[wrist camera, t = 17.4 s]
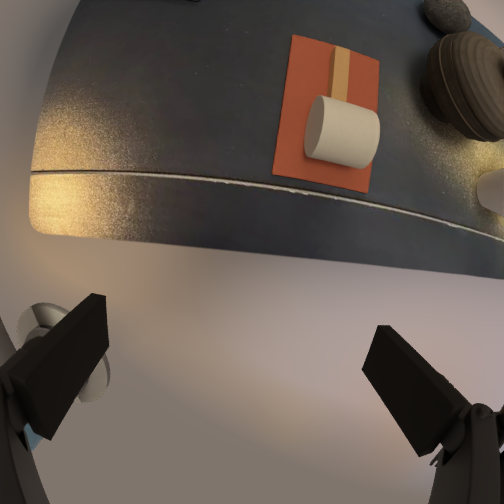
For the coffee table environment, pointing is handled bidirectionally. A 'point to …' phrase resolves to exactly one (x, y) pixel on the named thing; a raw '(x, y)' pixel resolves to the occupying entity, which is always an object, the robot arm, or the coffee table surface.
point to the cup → (492, 191)
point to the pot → (466, 85)
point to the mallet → (341, 121)
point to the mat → (299, 104)
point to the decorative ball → (448, 15)
